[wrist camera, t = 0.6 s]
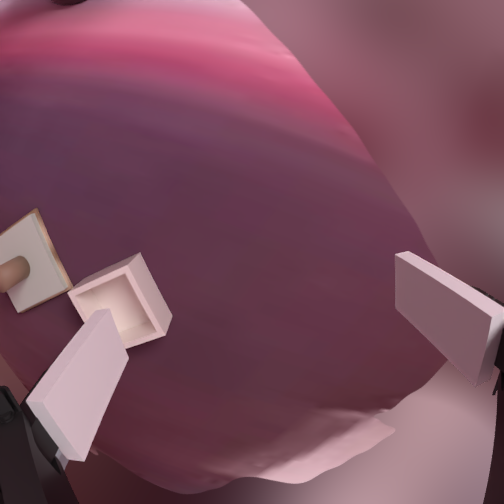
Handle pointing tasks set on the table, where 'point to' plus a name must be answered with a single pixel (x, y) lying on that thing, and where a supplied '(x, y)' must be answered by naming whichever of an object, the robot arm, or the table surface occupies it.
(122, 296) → the dish
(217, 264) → the table surface
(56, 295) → the plate
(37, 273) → the lid
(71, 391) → the robot arm
